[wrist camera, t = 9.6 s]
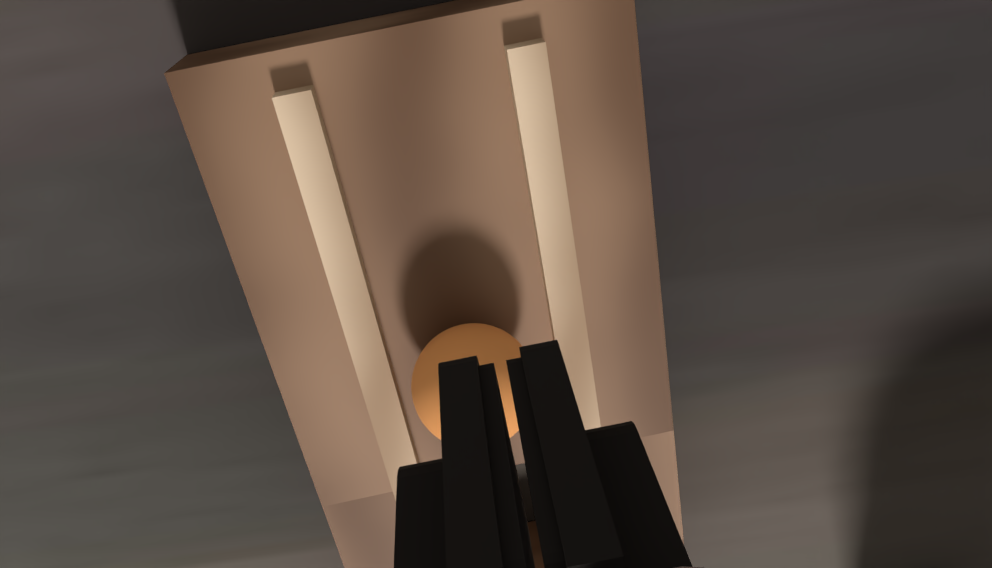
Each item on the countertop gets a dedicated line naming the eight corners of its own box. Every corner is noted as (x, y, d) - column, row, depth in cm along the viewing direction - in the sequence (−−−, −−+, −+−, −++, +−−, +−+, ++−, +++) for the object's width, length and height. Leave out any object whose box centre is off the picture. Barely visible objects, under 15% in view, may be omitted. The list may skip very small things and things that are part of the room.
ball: (429, 407, 20) (446, 494, 22) (556, 358, 21) (560, 446, 23) (384, 323, 23) (404, 408, 25) (500, 282, 24) (508, 368, 26)
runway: (608, -31, 22) (638, -20, 20) (671, 573, 33) (696, 635, 31) (186, 54, 22) (157, 78, 19) (389, 636, 33) (389, 704, 30)
